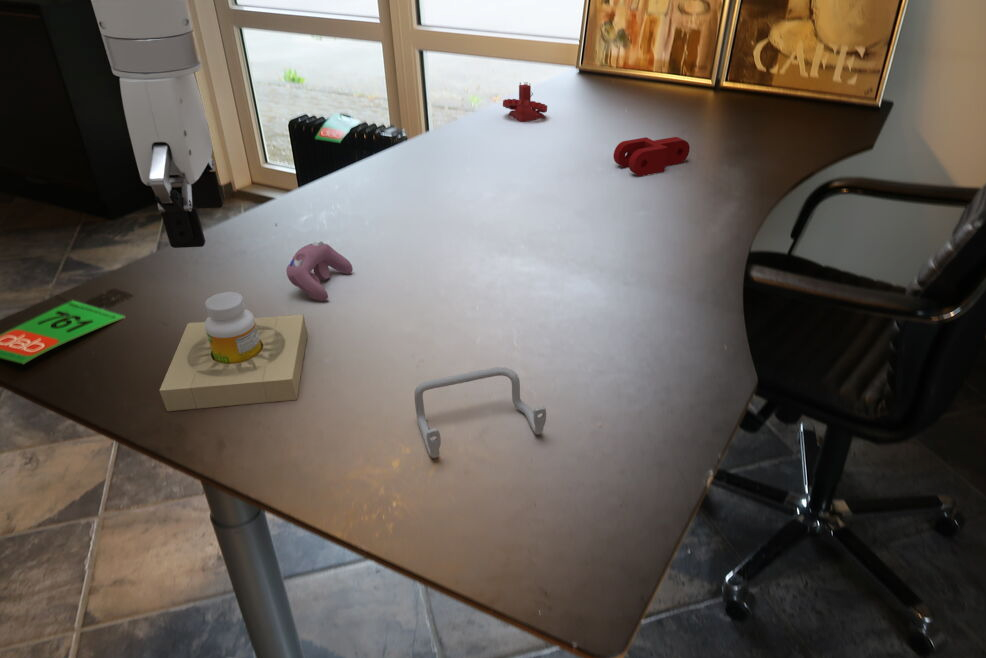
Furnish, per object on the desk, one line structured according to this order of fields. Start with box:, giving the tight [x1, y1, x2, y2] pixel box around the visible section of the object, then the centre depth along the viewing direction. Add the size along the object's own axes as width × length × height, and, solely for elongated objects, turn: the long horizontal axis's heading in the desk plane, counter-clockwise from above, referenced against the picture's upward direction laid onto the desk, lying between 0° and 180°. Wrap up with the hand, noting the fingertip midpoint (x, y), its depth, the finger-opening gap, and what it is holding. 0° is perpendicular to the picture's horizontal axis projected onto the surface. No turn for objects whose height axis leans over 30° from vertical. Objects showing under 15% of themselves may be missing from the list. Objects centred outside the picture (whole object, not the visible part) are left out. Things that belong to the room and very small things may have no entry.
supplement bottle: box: [204, 291, 262, 364], centre depth 82 cm, size 5×5×10 cm
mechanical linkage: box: [613, 136, 691, 177], centre depth 145 cm, size 16×7×5 cm, turn 119°
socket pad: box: [159, 314, 308, 412], centre depth 84 cm, size 14×14×3 cm
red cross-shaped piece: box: [502, 82, 548, 123], centre depth 170 cm, size 11×12×8 cm
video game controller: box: [286, 241, 354, 302], centre depth 101 cm, size 10×5×7 cm, turn 168°
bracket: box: [414, 366, 547, 459], centre depth 76 cm, size 13×8×5 cm, turn 110°
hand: (199, 225), depth 74 cm, fingers open, 9 cm apart
